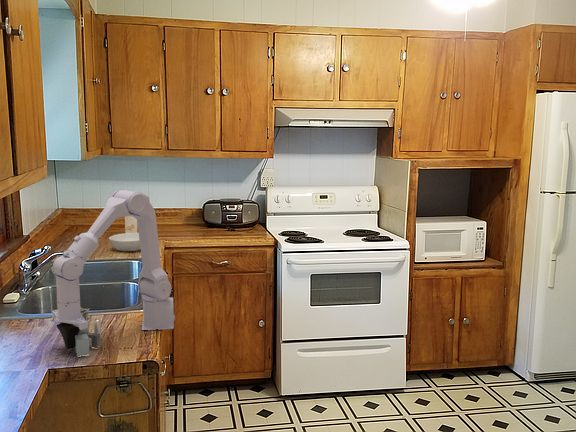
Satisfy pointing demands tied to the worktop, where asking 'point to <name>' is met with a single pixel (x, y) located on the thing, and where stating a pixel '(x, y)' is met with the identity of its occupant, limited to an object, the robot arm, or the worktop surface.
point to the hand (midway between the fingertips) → (70, 348)
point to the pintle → (97, 326)
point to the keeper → (93, 339)
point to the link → (82, 342)
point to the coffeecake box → (131, 224)
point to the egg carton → (83, 312)
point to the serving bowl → (125, 241)
